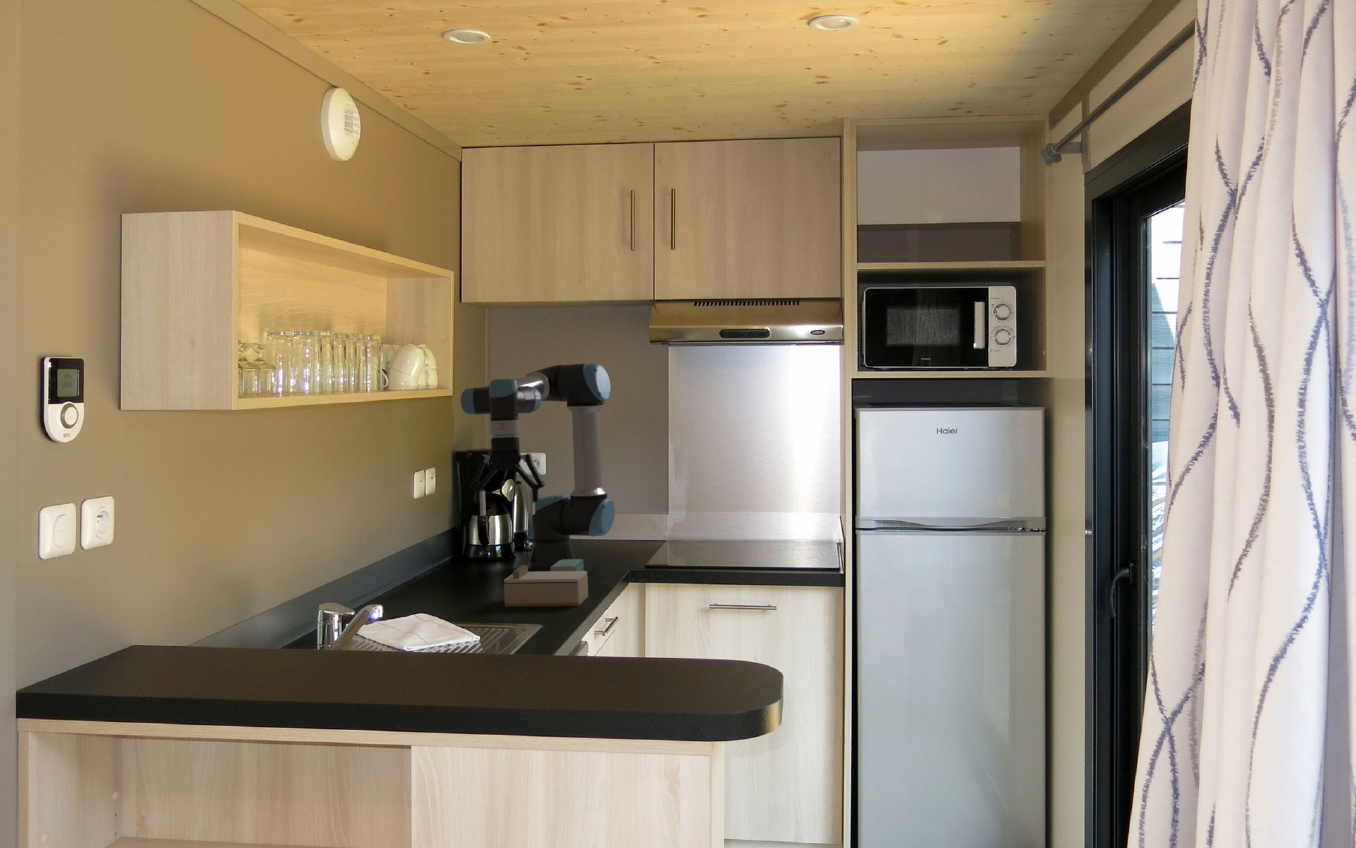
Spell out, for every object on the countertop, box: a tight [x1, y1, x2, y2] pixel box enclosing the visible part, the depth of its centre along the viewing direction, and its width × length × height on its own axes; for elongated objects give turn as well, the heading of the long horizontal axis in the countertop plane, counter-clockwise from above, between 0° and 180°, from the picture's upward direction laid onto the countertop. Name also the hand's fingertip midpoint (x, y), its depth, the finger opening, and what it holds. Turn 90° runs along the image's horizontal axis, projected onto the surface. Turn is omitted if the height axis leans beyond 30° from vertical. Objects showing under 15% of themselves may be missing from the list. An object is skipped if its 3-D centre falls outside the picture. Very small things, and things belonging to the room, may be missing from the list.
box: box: [550, 558, 585, 571], centre depth 292 cm, size 7×14×8 cm, turn 175°
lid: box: [503, 564, 588, 584], centre depth 274 cm, size 11×20×3 cm, turn 83°
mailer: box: [503, 574, 589, 608], centre depth 274 cm, size 12×20×6 cm, turn 83°
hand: (507, 515), depth 274 cm, fingers open, 13 cm apart
